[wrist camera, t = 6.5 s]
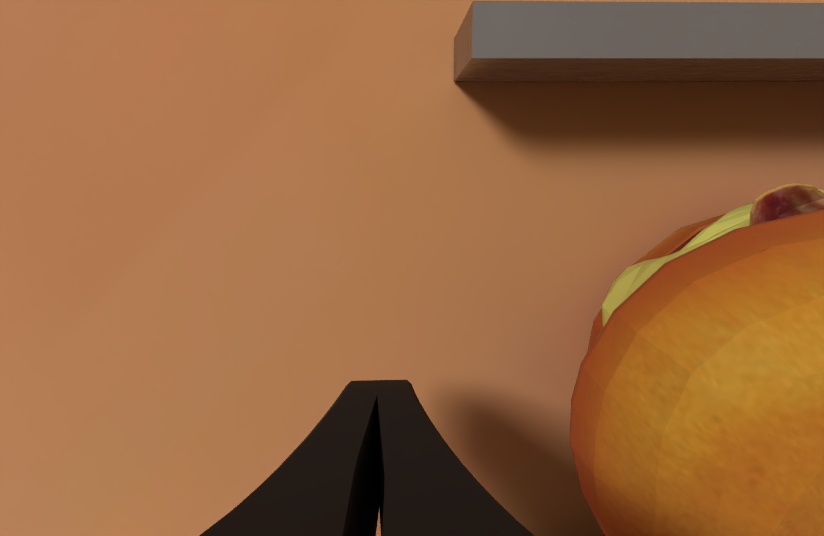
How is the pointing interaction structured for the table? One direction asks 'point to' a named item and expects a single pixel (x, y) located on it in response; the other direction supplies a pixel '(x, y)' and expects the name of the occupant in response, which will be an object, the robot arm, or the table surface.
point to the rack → (640, 41)
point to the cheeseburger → (711, 380)
